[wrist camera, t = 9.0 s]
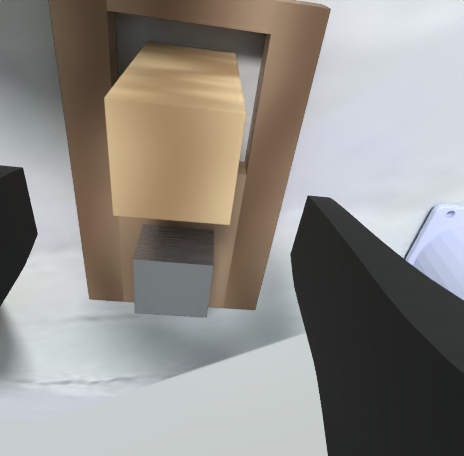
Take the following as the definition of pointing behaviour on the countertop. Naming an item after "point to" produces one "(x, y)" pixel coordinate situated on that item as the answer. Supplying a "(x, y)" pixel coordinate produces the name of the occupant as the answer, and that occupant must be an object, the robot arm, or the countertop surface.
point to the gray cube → (173, 270)
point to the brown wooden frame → (249, 172)
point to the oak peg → (176, 134)
